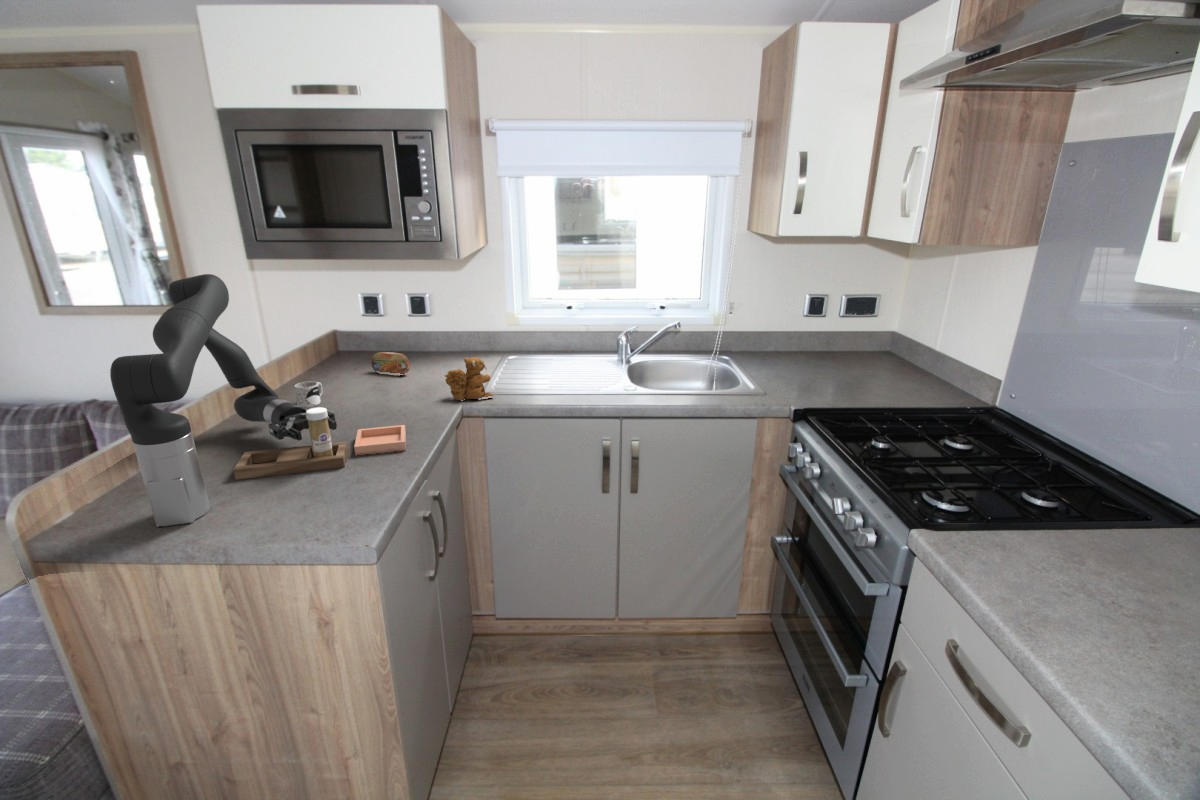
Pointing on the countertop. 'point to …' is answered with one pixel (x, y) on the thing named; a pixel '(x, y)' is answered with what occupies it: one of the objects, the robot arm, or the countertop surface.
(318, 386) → the mug
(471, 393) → the stuffed squirrel
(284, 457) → the walnut rack
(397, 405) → the countertop surface
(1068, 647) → the countertop surface
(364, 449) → the terracotta tray
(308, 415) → the sprinkles bottle
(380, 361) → the tin
